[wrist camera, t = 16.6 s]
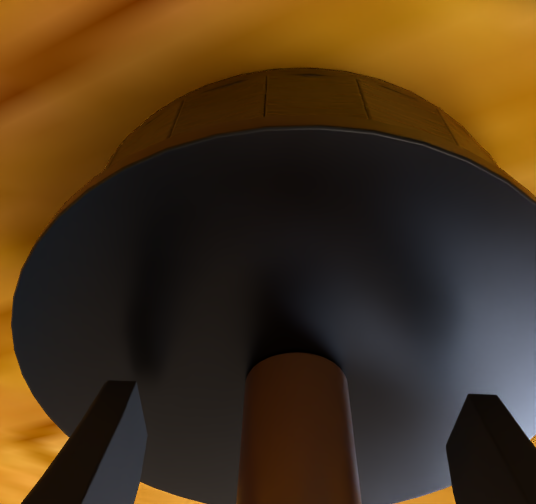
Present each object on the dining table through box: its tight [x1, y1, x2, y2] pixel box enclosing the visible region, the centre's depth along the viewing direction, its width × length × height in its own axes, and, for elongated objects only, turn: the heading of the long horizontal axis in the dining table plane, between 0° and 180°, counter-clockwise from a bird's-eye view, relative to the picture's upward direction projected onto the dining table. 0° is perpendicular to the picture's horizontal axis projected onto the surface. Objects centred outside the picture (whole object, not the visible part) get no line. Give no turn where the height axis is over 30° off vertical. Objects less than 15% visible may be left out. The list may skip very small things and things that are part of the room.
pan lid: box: [11, 115, 536, 504], centre depth 11 cm, size 13×13×5 cm
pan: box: [103, 68, 498, 172], centre depth 14 cm, size 12×12×4 cm
